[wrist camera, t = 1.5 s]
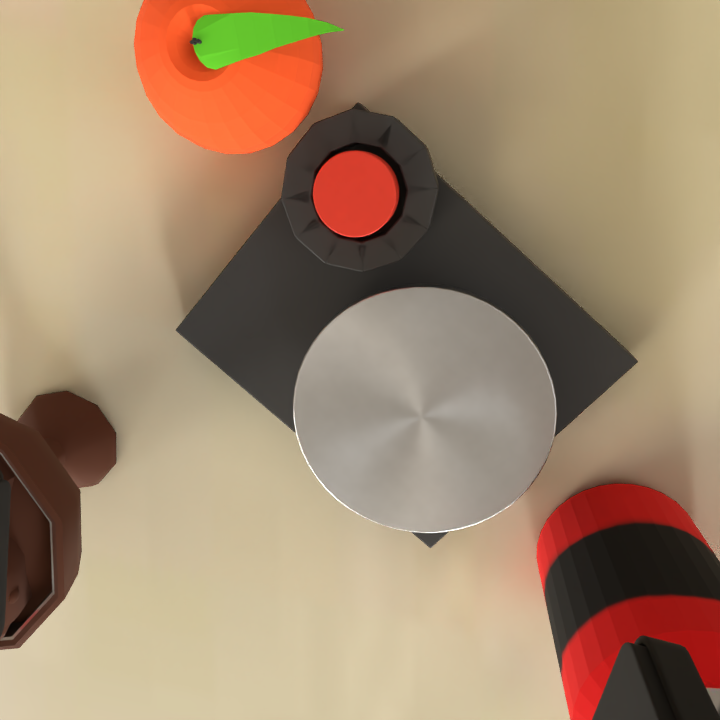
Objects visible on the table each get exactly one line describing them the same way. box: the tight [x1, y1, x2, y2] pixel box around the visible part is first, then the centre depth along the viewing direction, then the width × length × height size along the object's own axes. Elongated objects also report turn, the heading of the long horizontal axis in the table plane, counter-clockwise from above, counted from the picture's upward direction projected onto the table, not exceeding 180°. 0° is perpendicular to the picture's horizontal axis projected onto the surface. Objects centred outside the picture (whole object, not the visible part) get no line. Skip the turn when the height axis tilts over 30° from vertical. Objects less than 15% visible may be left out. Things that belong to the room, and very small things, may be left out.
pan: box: [293, 284, 557, 533], centre depth 28 cm, size 11×11×1 cm
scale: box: [176, 102, 638, 548], centre depth 29 cm, size 16×14×3 cm
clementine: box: [134, 0, 344, 154], centre depth 25 cm, size 8×7×7 cm
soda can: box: [537, 484, 720, 720], centre depth 27 cm, size 8×8×12 cm
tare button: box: [313, 150, 399, 237], centre depth 26 cm, size 3×3×2 cm
